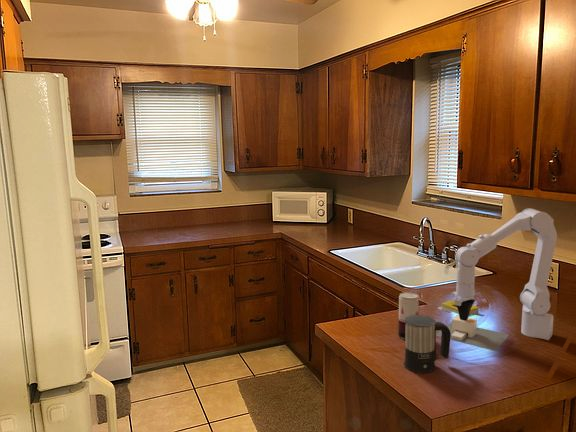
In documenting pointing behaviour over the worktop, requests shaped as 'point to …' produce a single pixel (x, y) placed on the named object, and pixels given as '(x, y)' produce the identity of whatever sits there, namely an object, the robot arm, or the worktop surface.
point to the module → (464, 325)
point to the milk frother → (424, 342)
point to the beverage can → (406, 310)
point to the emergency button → (450, 307)
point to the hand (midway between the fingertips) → (463, 319)
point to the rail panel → (478, 338)
